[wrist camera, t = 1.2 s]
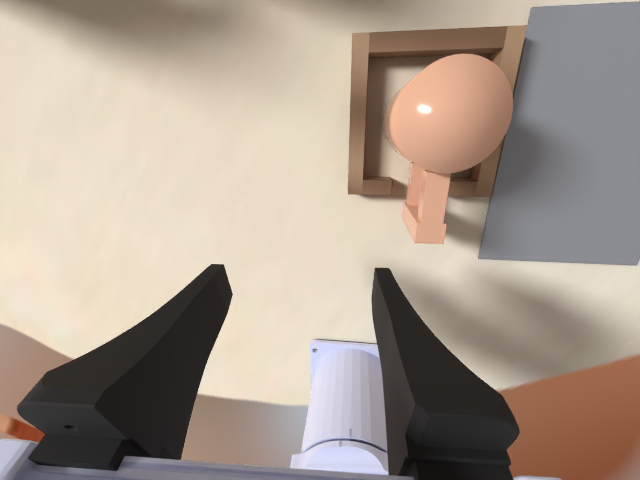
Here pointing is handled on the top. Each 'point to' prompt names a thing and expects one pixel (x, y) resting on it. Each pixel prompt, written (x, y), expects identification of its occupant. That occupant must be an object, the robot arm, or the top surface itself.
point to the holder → (438, 42)
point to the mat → (572, 142)
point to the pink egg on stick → (445, 132)
